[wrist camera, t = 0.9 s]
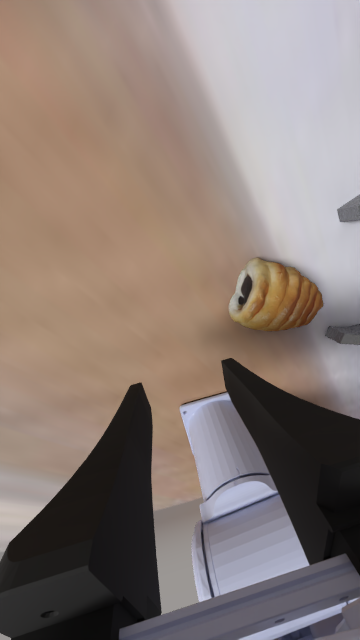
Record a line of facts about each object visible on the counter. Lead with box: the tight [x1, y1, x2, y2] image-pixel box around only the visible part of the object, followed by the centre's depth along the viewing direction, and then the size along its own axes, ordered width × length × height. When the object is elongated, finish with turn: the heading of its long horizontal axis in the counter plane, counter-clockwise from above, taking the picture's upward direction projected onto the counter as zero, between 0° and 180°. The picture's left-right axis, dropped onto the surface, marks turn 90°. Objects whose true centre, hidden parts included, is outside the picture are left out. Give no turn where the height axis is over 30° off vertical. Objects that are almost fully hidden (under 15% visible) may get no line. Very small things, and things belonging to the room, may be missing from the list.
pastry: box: [229, 258, 323, 331], centre depth 19 cm, size 9×7×4 cm
